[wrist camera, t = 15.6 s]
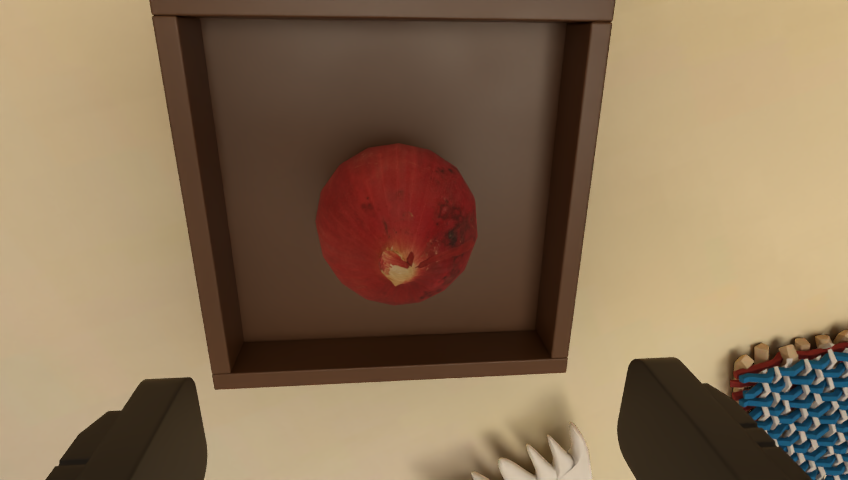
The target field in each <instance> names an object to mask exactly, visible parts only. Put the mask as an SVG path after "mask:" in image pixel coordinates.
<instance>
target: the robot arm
mask: <svg viewBox="0 0 848 480" xmlns="http://www.w3.org/2000/svg"><path fill="white" fill-rule="evenodd" d="M617 434H618V441H619V446H620V449H621V452H622V455H623V457H624V459H625V461H626V462H627V464H628V466H629V468H630V469H631V471H632V473H633V474H634V476H635V478H636V480H812V479H811V478H810V476H809V475H808V474H807V473H806V472H805V471H804V470H803V469H802V468H801V467H800V466H799V465H798V464H797V463H796V462H795V461H794V460H793V459H792V458H791V457H790V456H789V455H788V454H787V453H786V452H785V451H784V450H783V449H782V448H781V447H777V446H776V444H775V441H774V440H773V439H772V438H771V437H770V436H769V435H768V434H767V432H766V431H765V430H764V429H763V428H758V426H757V422H756V421H755V420H754V419H753V418H752V417H751V416H750V415H749V414H748V413H747V412H746V411H745V410H744V409H743V408H742V407H741V406H740V405H739V404H738V403H737V402H736V401H735V400H733V399H732V398H730V397H728V396H727V395H725V394H724V393H722V392H720V391H719V390H717V389H716V388H714V387H712V386H711V385H709V384H708V383H703V384H702V383H701V382H700V381H699V380H698V379H697V378H696V377H695V376H694V375H693V374H692V373H691V372H690V371H689V369H688V368H687V367H686V366H685V365H684V364H683V363H682V362H681V361H680V360H679V359H677V358H674V357H668V358H645V359H634V360H632V361H631V363H630V365H629V367H628V371H627V376H626V382H625V387H624V392H623V397H622V403H621V408H620V413H619V418H618V425H617ZM206 465H207V444H206V438H205V433H204V428H203V422H202V417H201V411H200V406H199V401H198V395H197V390H196V386H195V383H194V381H193V379H192V378H190V377H187V378H164V379H145V380H143V381H142V382H141V383H140V384H139V385H138V387H137V388H136V390H135V391H134V393H133V394H132V396H131V397H130V399H129V400H128V402H127V403H126V405H125V406H124V408H123V409H122V411H108V412H107V413H105V414H104V415H103V416H102V417H100V418H99V419H98V420H96V421H95V422H94V423H93V424H91V425H90V426H89V427H88V428H86V429H85V430H84V431H82V432H81V433H80V434H79V435H78V436H77V438H76V439H75V440H74V442H73V443H72V444H71V446H70V447H69V448H68V450H67V451H66V453H65V454H64V455H63V457H62V458H61V459H60V463H59V466H55V468H54V469H53V470H52V472H51V473H50V474H49V476H48V477H47V479H46V480H204V477H205V472H206Z"/></svg>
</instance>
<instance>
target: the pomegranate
mask: <svg viewBox="0 0 848 480" xmlns="http://www.w3.org/2000/svg"><path fill="white" fill-rule="evenodd" d="M315 222H316V227H317V232H318V236H319V241H320V245H321V250H322V254H323V257H324V259H325V260H326V261H327V263H328V264H329V266H330V267H331V269H332V270H333V272H334V273H335V275H336V276H337V278H338V279H339V280H340V282H341V283H342V284H343V285H345V286H346V287H348V288H349V289H351V290H352V291H354V292H356V293H357V294H359V295H360V296H362V297H363V298H365V299H367V300H371V301H376V302H380V303H385V304H389V305H394V306H395V305H403V304H411V303H419V302H422V301H424V300H426V299H428V298H430V297H432V296H434V295H436V294H438V293H440V292H442V291H444V290H445V289H446V288H447V287H448V286H449V285H450V284H451V283H452V282H453V281H454V280H455V279H456V278H457V277H458V276H459V275H460V274H461V273H462V272H463V271H464V270H465V268H466V265H467V263H468V260H469V258H470V255H471V252H472V250H473V247H474V245H475V242H476V239H477V237H478V234H477V219H476V204H475V198H474V196H473V194H472V192H471V190H470V189H469V187H468V185H467V184H466V182H465V180H464V179H463V177H462V175H461V174H460V172H459V170H458V169H457V167H455V166H454V165H452V164H451V163H449V162H447V161H446V160H444V159H443V158H441V157H440V156H438V155H437V154H435V153H434V152H432V151H431V150H429V149H424V148H419V147H415V146H410V145H405V144H400V143H396V144H390V145H383V146H376V147H369V148H367V149H365V150H363V151H362V152H360V153H358V154H357V155H355V156H353V157H352V158H350V159H348V160H347V161H345V162H343V163H342V164H341V165H339V166H338V168H337V169H336V171H335V172H334V173H333V175H332V176H331V178H330V179H329V181H328V182H327V183H326V185H325V186H324V188H323V189H322V191H321V193H320V199H319V204H318V209H317V215H316V220H315Z"/></svg>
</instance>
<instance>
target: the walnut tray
mask: <svg viewBox="0 0 848 480" xmlns="http://www.w3.org/2000/svg"><path fill="white" fill-rule="evenodd" d="M149 1H150V7H151V13H152V15H154V16H152V19H153V25H154V31H155V37H156V43H157V49H158V55H159V61H160V67H161V73H162V79H163V85H164V91H165V97H166V103H167V109H168V114H169V120H170V126H171V132H172V138H173V144H174V150H175V156H176V162H177V168H178V174H179V180H180V186H181V192H182V198H183V204H184V210H185V216H186V222H187V227H188V233H189V239H190V245H191V251H192V257H193V263H194V269H195V275H196V281H197V287H198V293H199V299H200V305H201V311H202V317H203V323H204V329H205V334H206V340H207V346H208V352H209V358H210V364H211V370H212V377H213V382H214V388H215V390H218V389H238V388H259V387H279V386H300V385H320V384H341V383H361V382H382V381H402V380H423V379H443V378H463V377H484V376H504V375H525V374H545V373H565V372H566V368H567V360H568V358H567V357H568V351H569V343H570V336H571V328H572V321H573V313H574V306H575V298H576V291H577V283H578V276H579V268H580V261H581V253H582V246H583V238H584V231H585V223H586V216H587V208H588V201H589V193H590V186H591V178H592V171H593V163H594V156H595V148H596V141H597V133H598V126H599V118H600V111H601V103H602V96H603V88H604V81H605V73H606V66H607V58H608V51H609V43H610V35H611V28H612V23H611V21H612V20H613V14H614V7H615V0H149ZM396 143H400V144H405V145H410V146H415V147H419V148H424V149H429V150H431V151H432V152H434V153H435V154H437V155H438V156H440V157H441V158H443V159H444V160H446V161H447V162H449V163H451V164H452V165H454V166H455V167H457V169H458V170H459V172H460V174H461V175H462V177H463V179H464V180H465V182H466V184H467V185H468V187H469V189H470V190H471V192H472V194H473V196H474V198H475V204H476V219H477V234H478V237H477V239H476V242H475V245H474V247H473V250H472V252H471V255H470V258H469V260H468V263H467V265H466V268H465V270H464V271H463V272H462V273H461V274H460V275H459V276H458V277H457V278H456V279H455V280H454V281H453V282H452V283H451V284H450V285H449V286H448V287H447V288H446V289H445V290H444V291H442V292H440V293H438V294H436V295H434V296H432V297H430V298H428V299H426V300H424V301H422V302H419V303H411V304H403V305H395V306H394V305H389V304H385V303H380V302H376V301H371V300H367V299H365V298H363V297H362V296H360V295H359V294H357V293H356V292H354V291H352V290H351V289H349V288H348V287H346V286H345V285H343V284H342V283H341V282H340V280H339V279H338V278H337V276H336V275H335V273H334V272H333V270H332V269H331V267H330V266H329V264H328V263H327V261H326V260H325V259H324V257H323V254H322V250H321V245H320V241H319V236H318V232H317V227H316V222H315V220H316V215H317V209H318V204H319V199H320V193H321V191H322V189H323V188H324V186H325V185H326V183H327V182H328V181H329V179H330V178H331V176H332V175H333V173H334V172H335V171H336V169H337V168H338V166H339V165H341V164H342V163H343V162H345V161H347V160H348V159H350V158H352V157H353V156H355V155H357V154H358V153H360V152H362V151H363V150H365V149H367V148H369V147H376V146H383V145H390V144H396Z"/></svg>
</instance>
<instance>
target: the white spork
mask: <svg viewBox="0 0 848 480" xmlns="http://www.w3.org/2000/svg"><path fill="white" fill-rule="evenodd" d="M569 432H570V437H571V443H572V445H571V447H570V449H569V450H568V451H567V452H566V451H565V450H564V449H563V448H562V447H561V446H560V445H559V444H558V443H557V442H556V441H555V440H554V439H553V438H552V437H551V436H550V435H547V439H548V443H549V446H550V449H551V452H552V455H553V461H552V464H550V463H549V462H548V461H547V460H546V459H544V458H543V457H542V456H541V455H540V454H539V453H538V452H537V451H536V450H535V449H534V448H533V447H532V446H530V445H529V444H527V446H526V448H527V452H528V454H529V456H530V458H531V461H532V463H533V465H534V467H535V470H536V472H535V475H534V474H531V473H530V472H528V471H527V470H525V469H524V468H522V467H521V466H519V465H518V464H516V463H514V462H513V461H511V460H509V459H506V458H500V459H499V460H498V467H499V470H500V472H501V474H502V476H503V478H504V480H592V471H591V465H590V456H589V451H588V447H587V444H586V441H585V439H584V437H583V436H582V434H581V432H580V431H579V429H578V428H577V427H576V425H574V424H573V423H572V422H570V423H569ZM471 476H472V478H473V480H490V479H488V478H486V477H485V476H483V475H481V474H479V473H477V472H474V471H472V473H471Z"/></svg>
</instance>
